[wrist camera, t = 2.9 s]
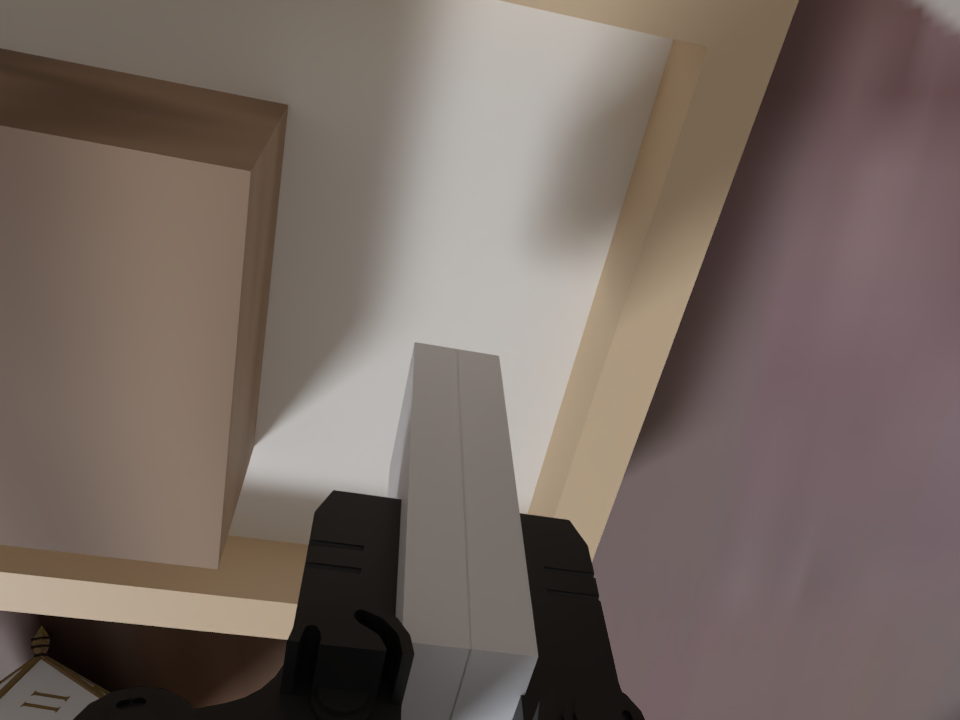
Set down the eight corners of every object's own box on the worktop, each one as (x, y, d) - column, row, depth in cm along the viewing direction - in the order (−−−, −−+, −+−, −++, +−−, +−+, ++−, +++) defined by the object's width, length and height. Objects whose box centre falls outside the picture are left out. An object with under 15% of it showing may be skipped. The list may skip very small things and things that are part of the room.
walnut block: (-119, 396, 19) (-242, 517, 15) (-178, 13, 15) (-361, 58, 11) (253, 446, 20) (217, 569, 16) (288, 104, 16) (250, 171, 13)
